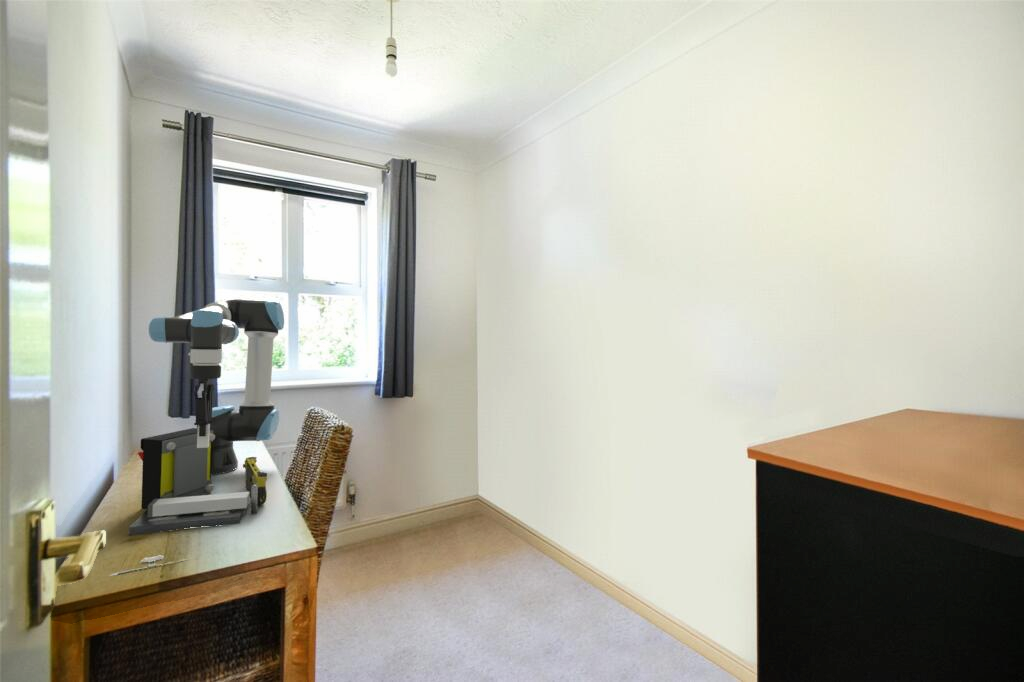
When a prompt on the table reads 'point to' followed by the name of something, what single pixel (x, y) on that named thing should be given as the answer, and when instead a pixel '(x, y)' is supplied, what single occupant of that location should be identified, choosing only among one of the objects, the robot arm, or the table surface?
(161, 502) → the light grey rectangular bar
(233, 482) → the table surface
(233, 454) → the robot arm
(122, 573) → the picture light
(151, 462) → the electrical component
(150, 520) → the label board
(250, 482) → the gaming console
